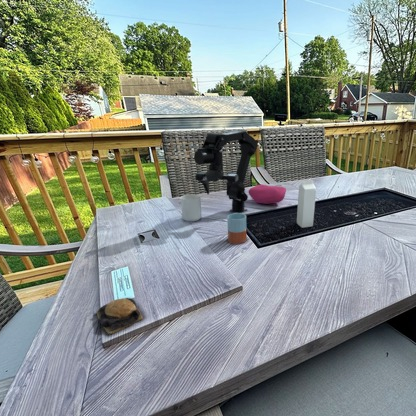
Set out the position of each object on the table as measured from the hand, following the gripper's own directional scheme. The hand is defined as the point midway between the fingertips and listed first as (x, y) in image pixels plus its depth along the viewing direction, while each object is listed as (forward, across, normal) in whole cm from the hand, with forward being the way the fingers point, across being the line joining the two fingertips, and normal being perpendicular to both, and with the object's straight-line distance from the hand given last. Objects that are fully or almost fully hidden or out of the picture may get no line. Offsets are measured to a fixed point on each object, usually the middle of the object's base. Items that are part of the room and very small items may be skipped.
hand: (217, 194), depth 124 cm
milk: (+13, +42, 0) cm, 44 cm away
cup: (+12, +14, -20) cm, 28 cm away
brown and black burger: (+13, -4, -66) cm, 68 cm away
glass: (+8, +14, -20) cm, 26 cm away
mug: (+13, -13, 0) cm, 18 cm away
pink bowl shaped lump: (+13, +20, +32) cm, 39 cm away
